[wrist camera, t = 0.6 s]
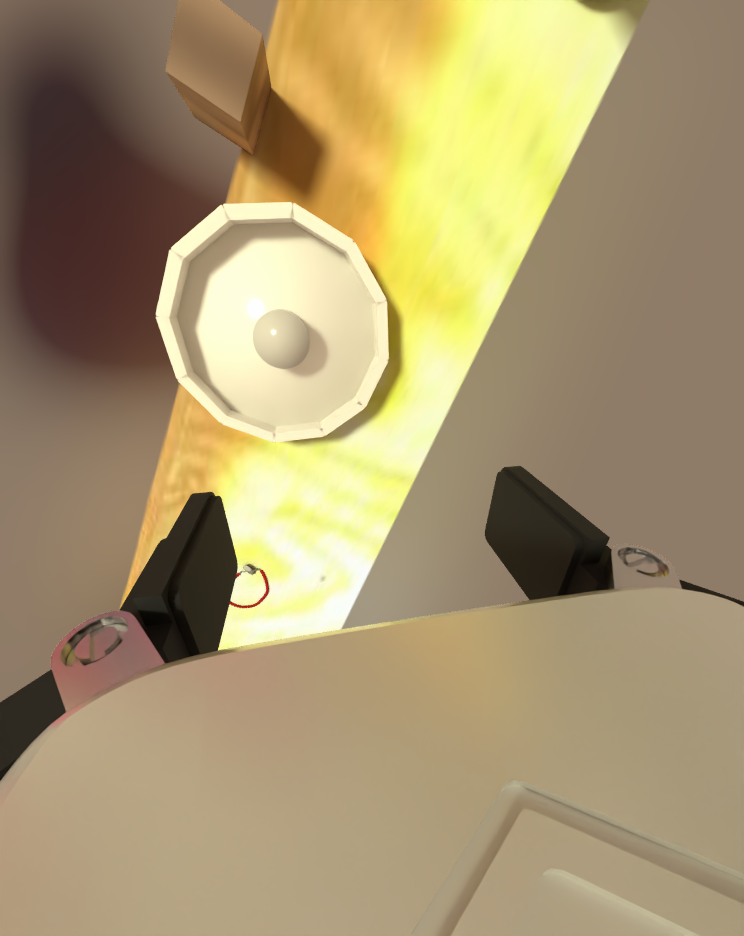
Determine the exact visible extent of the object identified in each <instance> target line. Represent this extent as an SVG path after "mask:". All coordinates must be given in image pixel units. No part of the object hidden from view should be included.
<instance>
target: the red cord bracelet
mask: <svg viewBox="0 0 744 936" xmlns="http://www.w3.org/2000/svg"><path fill="white" fill-rule="evenodd" d="M243 568H244V570H245V572H246V571H247V572H248V573H249V574H254V573H255V570H257V569H258V568H256V569H254V570H253V569H251V568H250V567H249V566H248V565H245V566H244V567H243ZM259 570H260V572H261V574H262V576H263V578H264V580H265V584H266V592H265V594H264V596H263V597H262V598H261V599H260V600H259V602H257V603H255V604H253V605H248V606H241V605H240V606H239V605H237V604H234V603H232V602H230V603H229V604H231V605H232V606H233V605H234V607H239V608H241V607H242V608H244V607H245V608H247V607H248V608H250V607H255V605H256V606H257V605H258V604H260V603H261V601H263V599H265V597H266V596H267V594H268V591H269V588H268V587H269V586H268V582H267V581H268V580H267V578H266V576H265V574H264V572H263V570H261V569H259ZM242 572H243V571H242ZM240 573H241V572H240ZM240 573H237V574H236V577H238V576H239V575H240Z"/></svg>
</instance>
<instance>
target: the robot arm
mask: <svg viewBox="0 0 744 936" xmlns="http://www.w3.org/2000/svg"><path fill="white" fill-rule="evenodd" d="M485 537H486V540H487V542H488V543H489V545H490V546H491V547H492V549H493V550H494V552H495V553H496V554H497V556H498V557H499V558H500V560H501V561H502V563H503V564H504V565H505V567H506V568H507V569H508V571H509V572H510V574H511V575H512V576H513V577H514V579H515V580H516V582H517V583H518V585H519V586H520V587H521V589H522V590H523V591H524V593H525V594H526V596H527V597H528V598H529V600H528V601H522V602H515V603H509V604H502V605H495V606H488V607H482V608H476V609H469V610H462V611H456V612H449V613H443V614H436V615H430V616H424V617H417V618H411V619H404V620H398V621H391V622H386V623H379V624H372V625H366V626H360V627H354V628H348V629H341V630H335V631H329V632H323V633H317V634H310V635H304V636H298V637H292V638H286V639H280V640H274V641H269V642H263V643H257V644H252V645H246V646H241V647H235V648H229V649H224V650H219V651H218V648H219V643H220V639H221V635H222V631H223V627H224V623H225V619H226V615H227V611H228V607H229V603H230V599H231V595H232V591H233V586H234V582H235V578H236V574H237V558H236V554H235V550H234V546H233V542H232V538H231V534H230V530H229V526H228V523H227V519H226V515H225V511H224V507H223V503H222V499H221V497H220V496H215V495H214V493H213V492H206V493H194V494H192V495H191V496H190V498H189V499H188V501H187V503H186V505H185V506H184V508H183V510H182V512H181V513H180V515H179V517H178V519H177V520H176V522H175V524H174V526H173V528H172V529H171V531H170V533H169V535H168V536H167V538H166V539H163V540H161V541H160V543H159V544H158V545H157V547H156V549H155V551H154V552H153V554H152V556H151V557H150V559H149V561H148V563H147V564H146V566H145V568H144V569H143V571H142V573H141V574H140V576H139V578H138V580H137V581H136V583H135V585H134V586H133V588H132V590H131V592H130V593H129V595H128V597H127V598H126V600H125V602H124V604H123V605H122V607H121V609H120V610H119V611H111V612H107V613H103V614H99V615H97V616H95V617H93V618H91V619H88V620H86V621H85V622H83V623H81V624H80V625H79V626H77V627H75V628H74V629H73V630H72V631H70V632H69V633H68V634H67V635H66V636H65V637H63V639H62V640H61V641H60V642H59V644H58V645H57V646H56V647H55V649H54V651H53V654H52V656H51V670H50V671H48V672H47V673H45V674H44V675H42V676H41V677H39V678H38V679H36V680H34V681H33V682H31V683H30V684H28V685H27V686H25V687H24V688H22V689H20V690H19V691H17V692H16V693H14V694H13V695H11V696H10V697H8V698H6V699H5V700H3V701H2V702H0V936H744V602H743V601H740V600H737V599H734V598H731V597H728V596H725V595H723V594H720V593H716V592H714V591H711V590H708V589H705V588H702V587H699V586H696V585H693V584H691V583H687V582H685V581H682V580H679V578H678V575H677V572H676V570H675V568H674V567H673V565H672V564H671V563H670V562H668V560H667V559H665V558H664V557H662V556H661V555H659V554H657V553H655V552H653V551H651V550H649V549H647V548H644V547H641V546H637V545H633V544H619V545H615V546H614V547H613V548H612V550H611V549H610V548H609V547H608V546H606V545H607V543H608V540H609V537H608V536H607V535H606V534H605V533H603V532H602V531H601V530H600V529H598V528H597V527H596V526H595V525H593V524H592V523H591V522H590V521H589V520H587V519H586V518H585V517H584V516H582V515H581V514H580V513H579V512H577V511H576V510H575V509H573V508H572V507H571V506H570V505H568V504H567V503H566V502H565V501H564V500H562V499H561V498H560V497H559V496H558V495H556V494H555V493H554V492H553V491H551V490H550V489H549V488H548V487H546V486H545V485H544V484H543V483H541V482H540V481H539V480H537V479H536V478H535V477H534V476H533V475H532V474H530V473H529V472H528V471H527V470H525V469H524V468H523V467H521V466H514V467H504V468H503V469H502V470H501V472H498V474H497V477H496V481H495V487H494V491H493V496H492V501H491V505H490V510H489V515H488V519H487V524H486V529H485Z"/></svg>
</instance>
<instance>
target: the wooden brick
mask: <svg viewBox="0 0 744 936" xmlns="http://www.w3.org/2000/svg"><path fill="white" fill-rule="evenodd" d="M165 71H166V73H167V74H168V76H169V77H170V79H171V81H172V82H173V84H174V85H175V87H176V89H177V90H178V92H179V93H180V95H181V97H182V98H183V100H184V101H185V103H186V104H187V106H188V108H189V109H190V111H191V112H192V114H193V115H194V117H195V118H197V119H198V120H200V121H201V122H203V123H204V124H206V125H207V126H209V127H210V128H212V129H214V130H215V131H217V132H218V133H220V134H221V135H223V136H224V137H226V138H227V139H229V140H230V141H232V142H233V143H235V144H236V145H238V146H239V147H241V148H243V149H244V150H246V151H247V152H249V153H250V154H252V155H253V153H254V150H255V146H256V142H257V139H258V135H259V131H260V128H261V124H262V120H263V117H264V113H265V109H266V106H267V102H268V98H269V95H270V91H271V83H270V77H269V71H268V65H267V59H266V53H265V47H264V41H263V35H262V34H261V33H260V32H259V31H258V30H256V29H255V28H254V27H252V26H251V25H250V24H249V23H248V22H246V21H245V20H244V19H242V18H241V17H240V16H239V15H237V14H236V13H235V12H234V11H232V10H231V9H230V8H228V7H227V6H226V5H225V4H223V3H222V2H221V1H220V0H178V3H177V9H176V15H175V20H174V25H173V31H172V36H171V42H170V48H169V53H168V59H167V65H166V70H165Z"/></svg>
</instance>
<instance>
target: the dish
mask: <svg viewBox="0 0 744 936" xmlns="http://www.w3.org/2000/svg"><path fill="white" fill-rule="evenodd" d="M223 206H224V207H223ZM223 206H222V205H220V206H219V207H218V208H217V209H216V210H215V211H213V212H212V213H211V214H210V215H209V216H208V217H206V218H205V219H204V220H203V221H202V222H200V223H199V224H198V225H197V226H196V227H195V228H193V230H191V231H190V232H189V233H188V234H187V235H185V236H184V237H183V238H182V239H181V240H179V241H178V242H177V243H176V244H175V245H174V246H173V247H171V249H172V250H173V251H172V250H170V251H169V255H168V260H167V265H166V269H165V274H164V278H163V284H162V288H161V292H160V297H159V302H158V306H157V311H156V315H157V316H159V317H156V319H157V322H158V325H159V328H160V331H161V334H162V337H163V340H164V343H165V346H166V349H167V351H168V355H169V358H170V361H171V364H172V366H173V370H174V372H175V375H176V378H177V379H179V380H178V381H179V382H180V383H181V384H182V385H183V386H184V387H185V388H186V389H187V390H188V391H189V392H190V393H191V394H192V395H193V396H194V397H195V398H196V399H197V400H198V401H199V402H200V403H201V404H202V405H203V406H204V407H205V408H206V409H207V410H208V411H209V412H210V413H211V414H212V415H213V416H214V417H215V418H216V419H217V420H218V421H219V422H220V423H221V422H222V424H223V425H226V426H229V427H232V428H234V429H237V430H240V431H243V432H246V433H248V434H251V435H254V436H257V437H260V438H262V439H265V440H268V441H271V442H273V441H274V442H283V441H291V440H300V439H308V438H316V437H324V435H325V436H326V435H327V434H329V433H330V432H332V431H333V430H335V429H336V428H337V427H339V426H340V425H342V424H343V423H345V422H346V421H347V420H349V419H350V418H352V417H353V416H355V415H356V414H357V413H359V412H360V411H362V410H363V409H365V408H364V407H366V406H367V404H368V402H369V400H370V397H371V395H372V393H373V391H374V389H375V387H376V385H377V383H378V381H379V379H380V377H381V375H382V373H383V371H384V369H385V367H386V365H387V363H388V359H389V351H388V317H387V301H385V300H386V298H385V296H384V294H383V292H382V290H381V288H380V287H379V285H378V283H377V281H376V279H375V278H374V276H373V274H372V272H371V270H370V268H369V267H368V265H367V263H366V261H365V259H364V258H363V256H362V254H361V252H360V250H359V249H358V247H357V245H356V243H355V242H354V243H352V242H353V240H352V239H351V238H349V237H348V236H346V235H344V234H343V233H341V232H340V231H338V230H336V229H335V228H333V227H332V226H330V225H329V224H327V223H325V222H324V221H322V220H321V219H319V218H317V217H316V216H314V215H313V214H311V213H309V212H308V211H306V210H305V209H303V208H302V207H300V206H298V205H297V204H295V203H294V204H293V206H292V202H278V203H242V204H223Z"/></svg>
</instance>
